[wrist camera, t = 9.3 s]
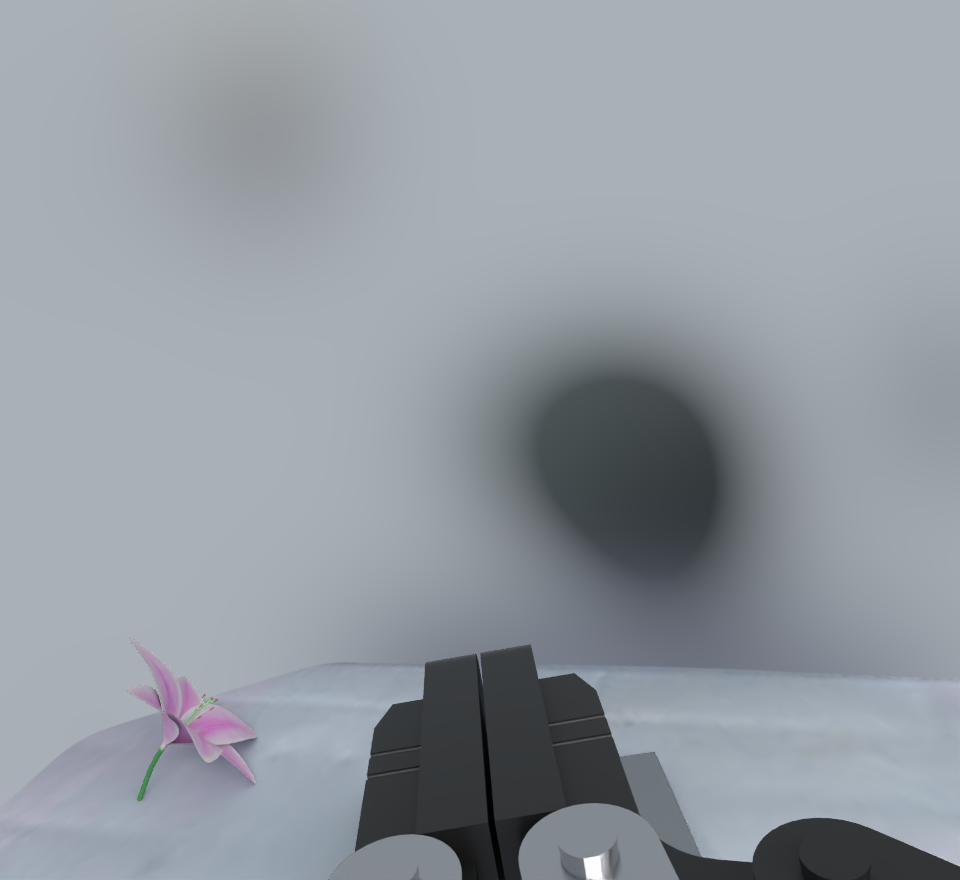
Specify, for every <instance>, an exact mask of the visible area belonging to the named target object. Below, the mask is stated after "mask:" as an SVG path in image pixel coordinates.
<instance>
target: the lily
mask: <svg viewBox="0 0 960 880" xmlns="http://www.w3.org/2000/svg"><path fill="white" fill-rule="evenodd" d="M129 640H130V642H131V643H132V644H133V646H134V647H135V648H136V650H137V651H138V652H139V654H140V655H141V656H142V658H143V659H144V660H145V662H146V664H147V665H148V667H149V669H150V671H151V673H152V676H153V678H154V681H155V683H156V686H157V689H158V692H159V695H160V699H161V702H162V706H163V710H164V713H163V711H162V709H161V703H160V699H159V696H158V694H157V692H156V690H155V689H153V688H152V687H149V686H142V685H141V686H140V685H138V686H131V687H128V688H127V689H126V691H127V692H129V693H130V694H132V695H134V696H136V697H137V698H139V699H141V700H142V701H144V702H146V703H147V704H149V705H151V706H152V707H154V708H156V709H157V710H159V711H160V712H162V718H163V730H164V739H163V743H162V745H161V747H160V748H159V750H158V752H157V753H156V755H155V757H154V759H153V761H152V763H151V764H150V766H149V769H148V771H147V774H146V776H145V779H144V781H143V784H142V787H141V790H140V793H139V796H138V798H137V800H138V801H141V800H142V798H143V795H144V792H145V789H146V786H147V783H148V781H149V778H150V776H151V773H152V771H153V768H154V766H155V764H156V762H157V761H158V759H159V757H160V755H161V754H162V752H163V751H164V750H165V748H166V747H167V746H168V745H171V744H189V745H195V747H196V749H197V751H198V752H199V754H200V756H201V758H202V759H203V760H204V761H205V762H207V763H211V762H213V761H214V760H216V759H217V758H218V757H219V756H220V755H221V756H223V757H224V758H225V759H227V760H228V761H229V762H230V763H232V764H233V765H234V766H235V767H236V768H238V769H239V770H240V771H241V772H242V773H243V774H244V775H246V776H247V777H248V778H249V779H250V780H251V781H252V782H253V783H254V784H256V781H255V779H254V776H253V774H252V773H251V771H250V770H249V768H248V766H247V765H246V763H245V762H244V760H243V759H242V758H241V756H240V755H239V754H238V753H237V751H236V750H235V749H234V748H233V747H232V746H230V745H229V744H230V743H236V742H240V741H244V740H247V739H253V738H257V735H256V733H255V732H254V731H253V730H252V729H251V728H250V727H249V726H248V725H247V724H246V723H244V722H243V721H242V720H241V719H239V718H238V717H237V716H235V715H234V714H232V713H231V712H229V711H228V710H226V709H224V708H222V707H220V706H217V705H213V704H209V703H211V702H213V701H214V702H215V701H217V700H218V699H216V700H213V698H211V699H210V700H209V701H207V702H206V703H204V700H203V699H204V696H205V695H204V696H203V697H201V695H200V693H199V692H198V690H197V689H196V688H195V686H194V685H193V684H192V683H191V682H190V681H189V680H188V679H187V678H186V677H180V678H178V679H177V678H176V677H175V675H174V673H173V672H172V670H171V669H170V668H169V667H168V666H167V665H166V664H165V663H164V662H163V661H162V660H161V659H160V658H158V657H157V656H156V655H155V654H154V653H152V652H151V651H150V650H148V649H147V648H146V647H144V646H143V645H141V644H140V643H138V642H136V641H135V640H133V639H131V638H129ZM211 700H213V701H211ZM210 701H211V702H210Z"/></svg>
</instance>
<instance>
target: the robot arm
mask: <svg viewBox="0 0 960 880" xmlns="http://www.w3.org/2000/svg"><path fill="white" fill-rule="evenodd" d="M481 666H482V678H483V684H482V678H481V673H480V668H479V663H478V658H477V655H476V654H473V655H467V656H461V657H455V658H449V659H444V660H438V661H432V662H426V664H425V678H424V696H423V699H422V700H416V701H410V702H404V703H399V704H393V705H392V706H391V707H390V709H389V710H388V711H387V713H386V714H385V715H384V717H383V718H382V719H381V720H380V722H379V723H378V724H377V726H376V727H375V728H374V734H373V740H372V747H371V753H370V754H371V758H370V759H369V766H368V772H367V778H368V780H366V784H365V791H364V797H363V803H362V810H361V816H360V822H359V829H358V835H357V841H356V847H355V853H353V854H352V855H350V856H349V857H348V858H346V859H345V860H344V861H343V862H342V863H341V864H340V865H339V866H338V867H337V868H336V870H335V871H334V872H333V873H332V874H331V876H330V878H329V879H328V880H960V867H959V866H957V865H955V864H952V863H950V862H948V861H945V860H943V859H941V858H938V857H936V856H934V855H931V854H929V853H927V852H924V851H922V850H920V849H917V848H915V847H913V846H910V845H908V844H906V843H903V842H901V841H899V840H896V839H894V838H892V837H889V836H887V835H885V834H882V833H880V832H878V831H875V830H873V829H871V828H868V827H865V826H862V825H860V824H857V823H853V822H849V821H845V820H838V819H831V818H810V819H801V820H797V821H792V822H789V823H786V824H784V825H781V826H779V827H777V828H776V829H774V830H772V831H771V832H769V833H768V834H767V835H766V836H765V837H764V838H763V839H762V840H761V841H760V843H759V844H758V846H757V848H756V850H755V852H754V856H753V862H740V861H728V860H717V859H710V858H703V857H699V856H695V855H691V854H688V853H686V852H683V851H680V850H678V849H676V848H674V847H672V846H670V845H668V844H666V843H665V842H663V841H662V840H661V839H659V837H658V835H657V834H656V832H655V830H654V829H653V827H652V826H651V825H650V824H649V823H648V822H647V821H646V820H645V819H643V818H642V817H641V816H640V814H639V811H638V808H637V805H636V802H635V800H634V797H633V794H632V791H631V788H630V785H629V783H628V780H627V777H626V774H625V771H624V768H623V765H622V763H621V760H620V757H619V754H618V751H617V748H616V746H615V743H614V740H613V738H612V736H611V731H610V728H609V726H608V723H607V720H606V718H605V715H604V711H603V709H602V706H601V703H600V700H599V697H598V694H597V691H596V690H595V689H594V688H592V687H591V686H590V685H589V684H587V683H586V682H585V681H584V680H582V679H581V678H580V677H578V676H577V675H576V674H575V673H573V674H567V675H561V676H556V677H550V678H544V679H538V676H537V671H536V666H535V662H534V658H533V653H532V648H531V645H525V646H519V647H513V648H507V649H501V650H495V651H489V652H484V653H481Z"/></svg>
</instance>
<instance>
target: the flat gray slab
mask: <svg viewBox="0 0 960 880" xmlns="http://www.w3.org/2000/svg"><path fill="white" fill-rule="evenodd" d="M620 760H621V763H622V765H623V768H624V771H625V774H626V777H627V780H628V783H629V785H630V788H631V791H632V794H633V797H634V800H635V802H636V805H637V808H638V811H639V814H640V816H641V817H642V818H643V819H645V820H646V821H647V822H648V823H649V824H650V825H651V826H652V827H653V829H654V830H655V832H656V834H657V835H658V837H659V839H661V840H662V841H663V842H665V843H666V844H668V845H670V846H672V847H674V848H676V849H678V850H680V851H683V852H686V853H688V854H691V855H695V856H699V857H701V855H700V853H699V850H698V848H697V846H696V844H695V841H694V839H693V837H692V835H691V832H690V830H689V828H688V826H687V823H686V821H685V819H684V817H683V814H682V812H681V810H680V808H679V805H678V803H677V801H676V799H675V796H674V794H673V792H672V790H671V787H670V785H669V783H668V781H667V778H666V776H665V774H664V772H663V769H662V767H661V765H660V763H659V760H658V758H657V756H656V754H655V752H650V753H644V754H637V755H631V756H624V757H620Z"/></svg>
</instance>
